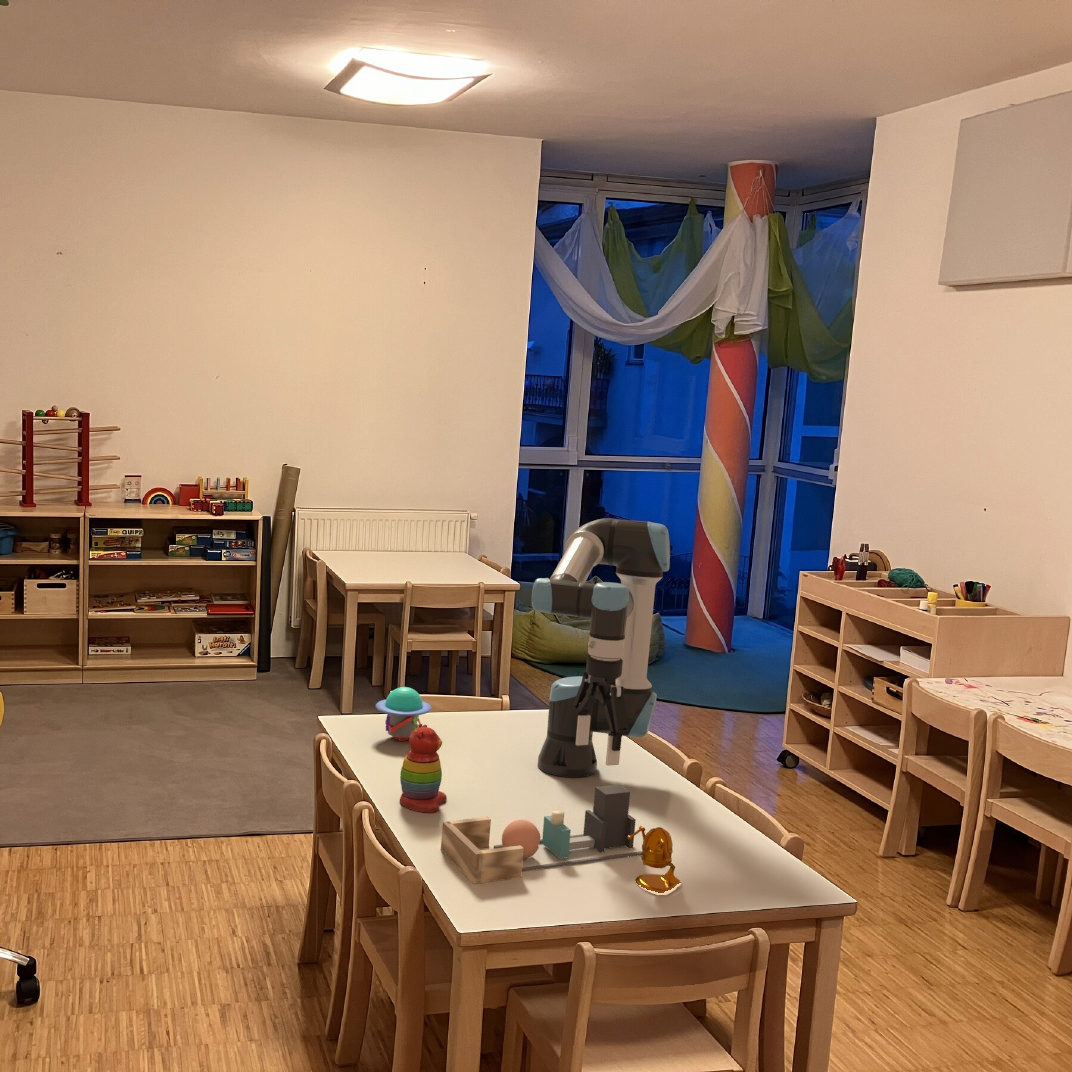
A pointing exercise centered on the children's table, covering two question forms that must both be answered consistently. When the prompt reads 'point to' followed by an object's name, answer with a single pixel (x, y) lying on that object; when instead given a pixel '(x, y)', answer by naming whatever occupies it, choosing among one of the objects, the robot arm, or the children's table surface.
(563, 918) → the children's table surface
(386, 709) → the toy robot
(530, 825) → the toy ball
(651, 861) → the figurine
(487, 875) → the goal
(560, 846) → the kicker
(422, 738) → the stacking bear
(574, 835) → the track
